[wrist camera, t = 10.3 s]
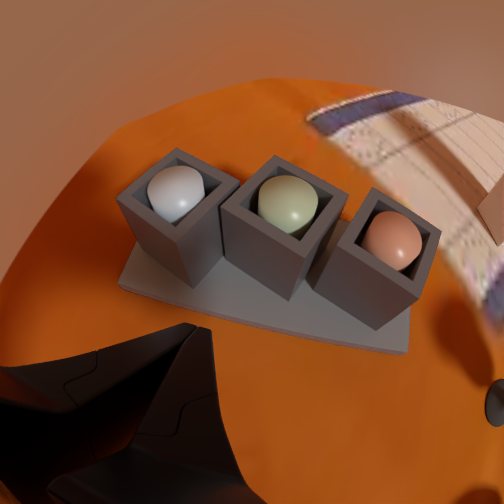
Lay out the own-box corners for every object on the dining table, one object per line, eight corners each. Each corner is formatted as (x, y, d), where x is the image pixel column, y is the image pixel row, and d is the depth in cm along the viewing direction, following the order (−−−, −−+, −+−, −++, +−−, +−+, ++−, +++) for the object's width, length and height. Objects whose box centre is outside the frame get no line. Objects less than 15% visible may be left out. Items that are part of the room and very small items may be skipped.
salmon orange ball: (386, 297, 19) (412, 271, 16) (343, 269, 20) (362, 239, 17) (403, 259, 21) (427, 231, 17) (364, 234, 22) (382, 202, 18)
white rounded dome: (185, 251, 21) (174, 217, 17) (150, 225, 22) (136, 191, 18) (218, 216, 22) (214, 180, 19) (183, 195, 23) (175, 158, 20)
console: (400, 355, 21) (458, 326, 14) (122, 288, 24) (81, 238, 17) (404, 244, 27) (443, 192, 20) (169, 191, 29) (152, 129, 22)
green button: (289, 263, 21) (298, 231, 17) (246, 236, 22) (246, 200, 18) (315, 228, 22) (327, 193, 19) (274, 204, 23) (279, 167, 20)
